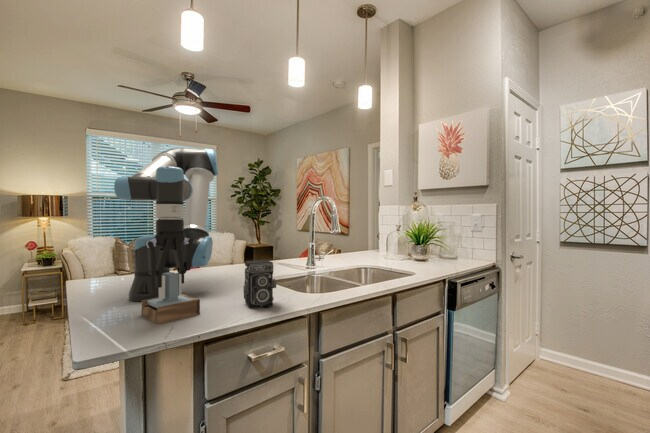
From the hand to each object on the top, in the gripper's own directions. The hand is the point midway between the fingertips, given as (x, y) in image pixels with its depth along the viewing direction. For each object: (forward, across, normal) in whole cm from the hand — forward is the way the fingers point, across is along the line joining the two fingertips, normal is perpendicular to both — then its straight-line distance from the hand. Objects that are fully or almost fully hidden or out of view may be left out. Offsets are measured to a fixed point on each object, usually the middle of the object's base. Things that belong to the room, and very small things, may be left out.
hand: (170, 296), depth 96 cm
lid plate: (+2, 0, 0) cm, 2 cm away
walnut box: (+6, 0, 0) cm, 6 cm away
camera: (+6, +24, -12) cm, 28 cm away
